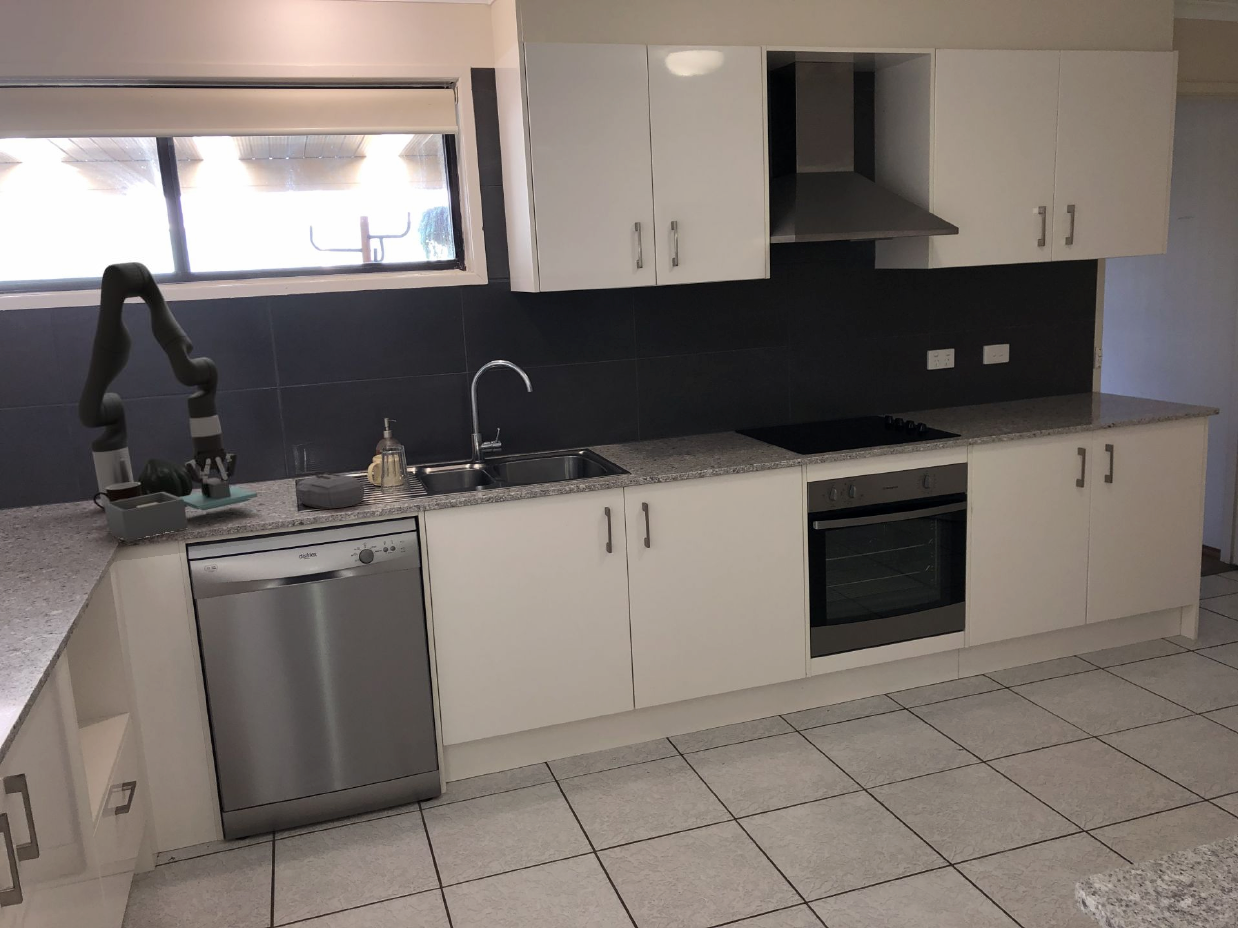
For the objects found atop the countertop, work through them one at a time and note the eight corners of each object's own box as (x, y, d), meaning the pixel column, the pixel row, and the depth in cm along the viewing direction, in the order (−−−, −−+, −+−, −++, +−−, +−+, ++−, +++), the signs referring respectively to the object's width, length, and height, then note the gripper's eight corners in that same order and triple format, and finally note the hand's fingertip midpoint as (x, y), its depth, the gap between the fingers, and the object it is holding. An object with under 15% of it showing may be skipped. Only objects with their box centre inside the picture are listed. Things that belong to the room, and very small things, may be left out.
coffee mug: (153, 517, 274) (147, 482, 272) (130, 525, 266) (124, 489, 264) (118, 516, 277) (112, 482, 275) (95, 525, 269) (88, 489, 267)
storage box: (109, 533, 259) (103, 503, 258) (168, 520, 269) (163, 491, 268) (127, 542, 248) (121, 511, 247) (188, 528, 258) (183, 498, 257)
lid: (177, 505, 271) (173, 483, 269) (234, 492, 281) (231, 472, 280) (198, 513, 259) (195, 490, 258) (258, 500, 269) (254, 478, 268)
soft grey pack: (289, 506, 277) (332, 514, 264) (285, 477, 275) (328, 483, 263) (335, 494, 288) (378, 501, 276) (332, 466, 287) (374, 471, 274)
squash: (210, 479, 294) (172, 443, 292) (184, 493, 279) (143, 456, 278) (182, 511, 297) (144, 476, 296) (155, 526, 283) (114, 490, 281)
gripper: (227, 427, 274) (236, 488, 277) (174, 436, 264) (184, 498, 268) (237, 429, 268) (247, 491, 272) (184, 438, 259) (194, 502, 262)
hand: (215, 494), depth 270 cm, fingers closed on lid, 4 cm apart
